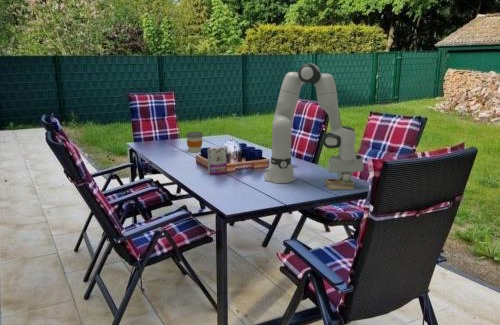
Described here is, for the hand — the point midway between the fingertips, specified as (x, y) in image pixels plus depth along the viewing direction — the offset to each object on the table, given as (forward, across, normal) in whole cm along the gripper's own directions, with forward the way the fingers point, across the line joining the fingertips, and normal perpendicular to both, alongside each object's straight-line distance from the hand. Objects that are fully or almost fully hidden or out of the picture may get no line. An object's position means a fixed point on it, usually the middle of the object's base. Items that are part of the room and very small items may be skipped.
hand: (344, 179), depth 247 cm
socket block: (+4, -4, -1) cm, 6 cm away
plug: (+3, 0, 0) cm, 3 cm away
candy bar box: (+5, -68, +42) cm, 80 cm away
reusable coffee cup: (+5, -76, +112) cm, 136 cm away
